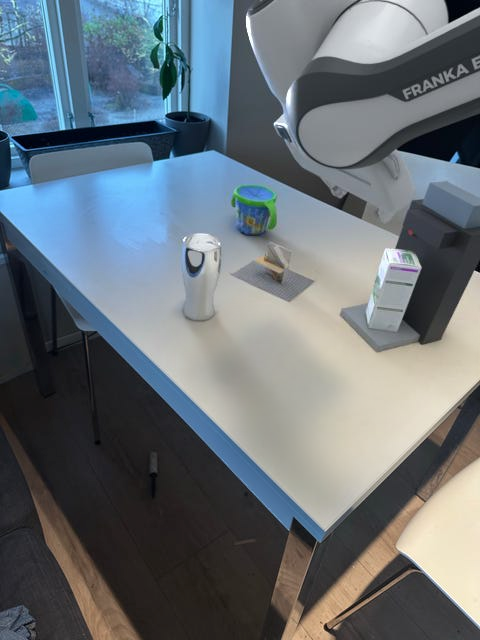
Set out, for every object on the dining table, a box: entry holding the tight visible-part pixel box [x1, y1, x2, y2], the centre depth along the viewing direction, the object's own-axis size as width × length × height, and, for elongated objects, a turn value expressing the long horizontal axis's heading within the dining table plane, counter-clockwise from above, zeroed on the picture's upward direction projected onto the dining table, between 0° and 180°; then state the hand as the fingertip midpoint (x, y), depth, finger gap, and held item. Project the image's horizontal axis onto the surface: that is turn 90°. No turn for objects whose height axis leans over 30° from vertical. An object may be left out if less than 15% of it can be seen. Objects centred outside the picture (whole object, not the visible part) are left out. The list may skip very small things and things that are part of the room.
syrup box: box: [365, 247, 421, 332], centre depth 82 cm, size 6×6×14 cm
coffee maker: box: [339, 180, 480, 353], centre depth 81 cm, size 15×14×27 cm
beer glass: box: [181, 232, 223, 322], centre depth 81 cm, size 7×7×15 cm
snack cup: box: [230, 184, 278, 236], centre depth 114 cm, size 16×10×10 cm
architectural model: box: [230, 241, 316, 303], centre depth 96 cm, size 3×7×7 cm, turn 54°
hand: (362, 205), depth 63 cm, fingers open, 8 cm apart
